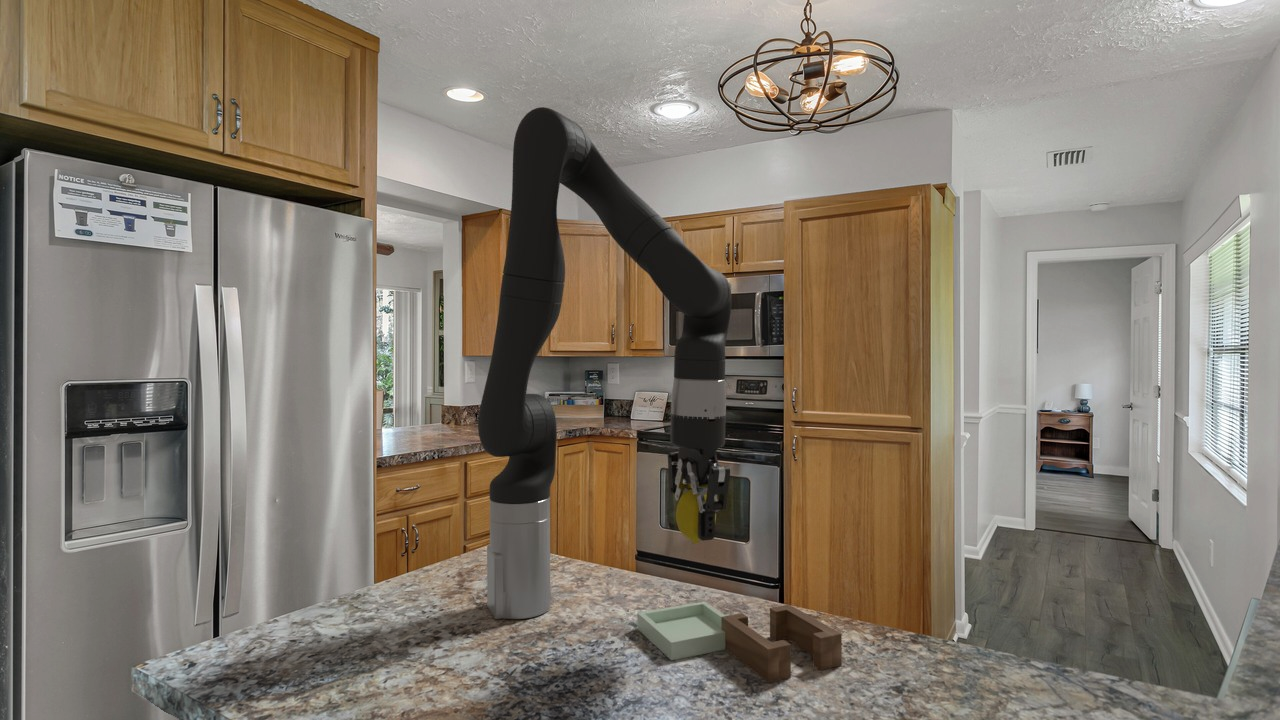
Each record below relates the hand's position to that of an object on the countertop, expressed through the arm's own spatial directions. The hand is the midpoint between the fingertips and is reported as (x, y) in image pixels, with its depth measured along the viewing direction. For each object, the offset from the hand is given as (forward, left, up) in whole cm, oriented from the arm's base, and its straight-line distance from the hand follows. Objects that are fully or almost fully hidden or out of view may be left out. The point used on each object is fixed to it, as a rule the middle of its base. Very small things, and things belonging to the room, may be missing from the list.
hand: (695, 532), depth 94 cm
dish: (-1, +1, -15) cm, 15 cm away
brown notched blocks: (+7, -9, -15) cm, 19 cm away
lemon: (0, 0, -2) cm, 2 cm away
